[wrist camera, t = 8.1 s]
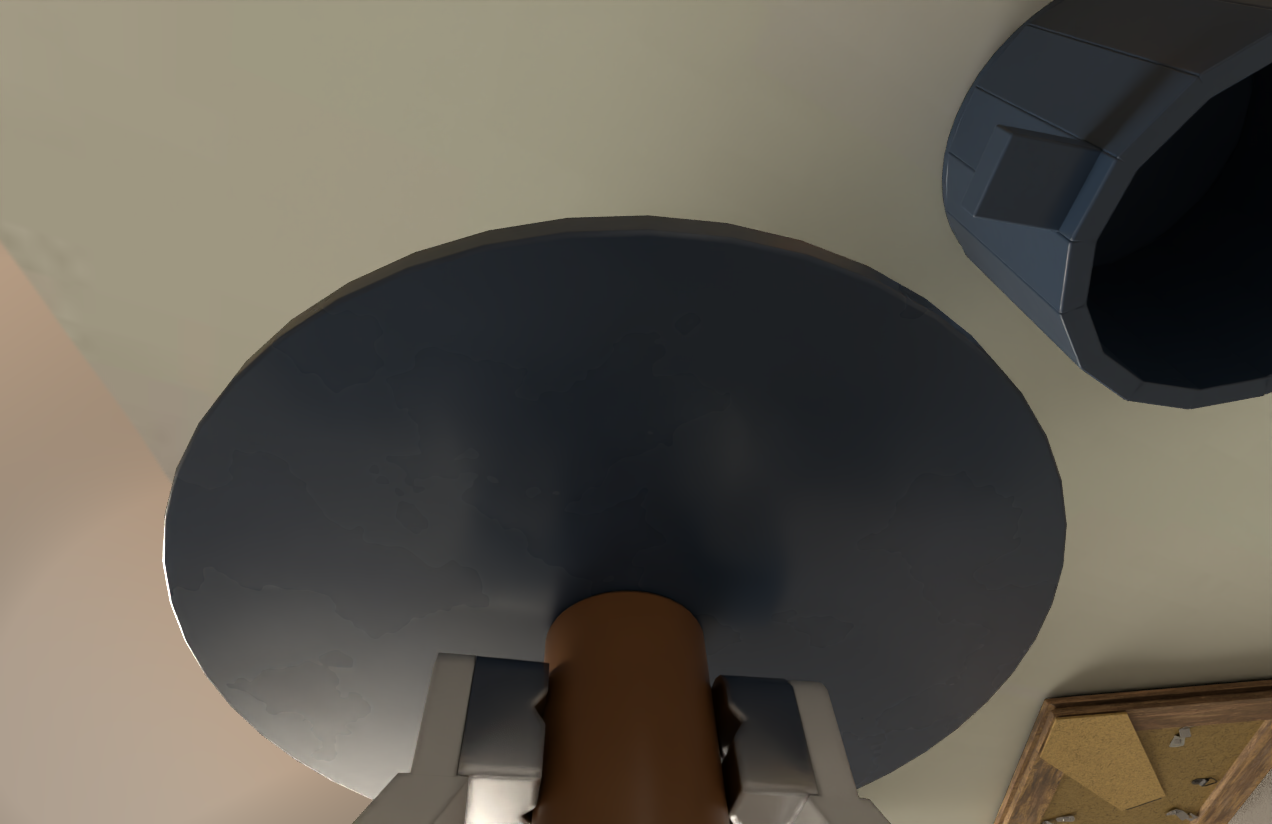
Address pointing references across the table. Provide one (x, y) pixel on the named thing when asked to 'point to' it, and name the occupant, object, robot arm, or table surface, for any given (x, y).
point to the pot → (1129, 191)
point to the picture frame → (1144, 757)
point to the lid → (615, 507)
